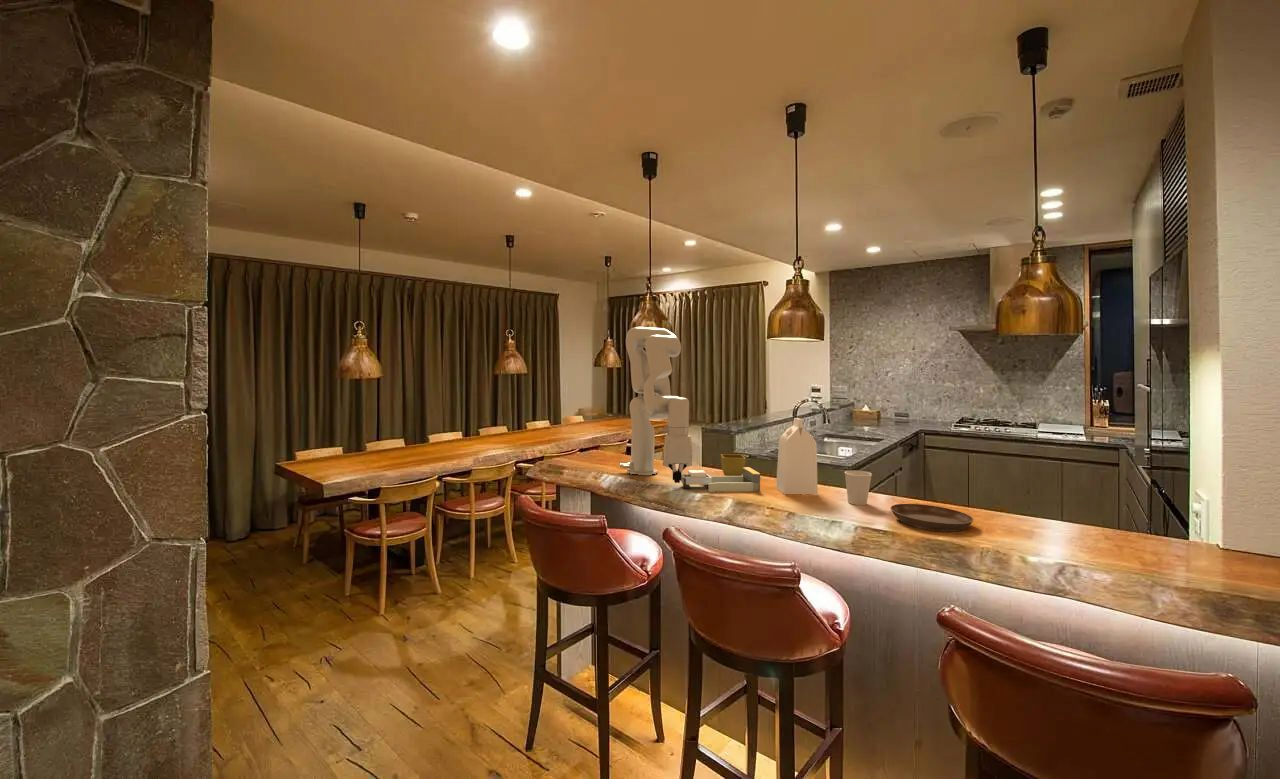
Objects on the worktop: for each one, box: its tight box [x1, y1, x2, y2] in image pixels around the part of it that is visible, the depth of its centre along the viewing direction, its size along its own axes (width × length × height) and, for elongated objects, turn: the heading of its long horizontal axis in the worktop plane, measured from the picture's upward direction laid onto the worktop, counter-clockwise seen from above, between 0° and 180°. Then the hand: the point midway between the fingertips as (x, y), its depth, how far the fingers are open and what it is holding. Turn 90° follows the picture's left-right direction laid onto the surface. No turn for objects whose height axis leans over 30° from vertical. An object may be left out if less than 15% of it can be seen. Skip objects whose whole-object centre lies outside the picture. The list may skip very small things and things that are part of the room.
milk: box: [775, 417, 819, 496], centre depth 188 cm, size 12×12×26 cm
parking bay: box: [707, 466, 761, 493], centre depth 192 cm, size 19×15×6 cm
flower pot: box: [720, 453, 747, 476], centre depth 210 cm, size 9×9×9 cm
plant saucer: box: [890, 503, 974, 532], centre depth 150 cm, size 21×21×3 cm
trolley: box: [680, 469, 712, 490], centre depth 191 cm, size 10×7×6 cm
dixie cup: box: [844, 470, 873, 506], centre depth 172 cm, size 8×8×10 cm
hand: (676, 482), depth 190 cm, fingers closed
